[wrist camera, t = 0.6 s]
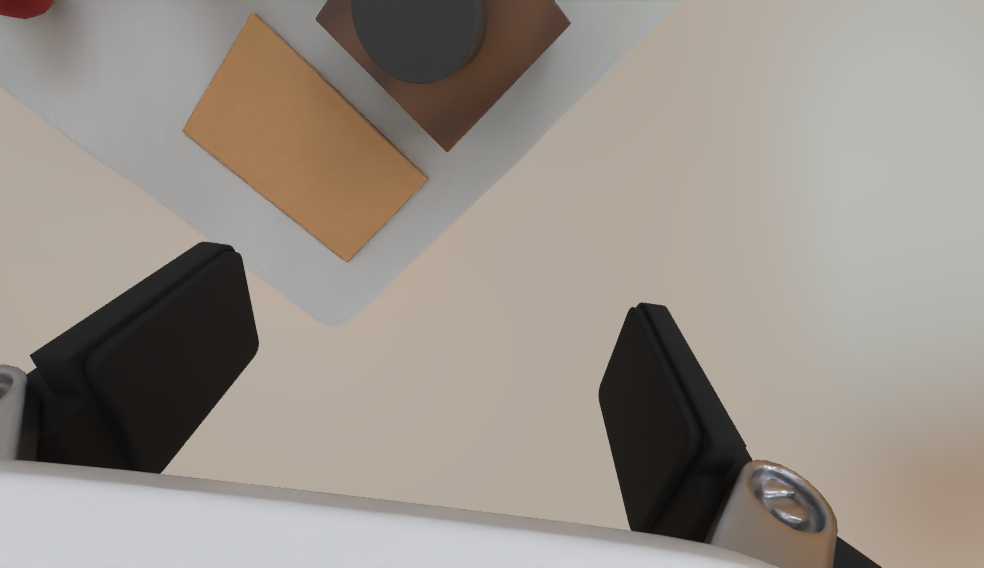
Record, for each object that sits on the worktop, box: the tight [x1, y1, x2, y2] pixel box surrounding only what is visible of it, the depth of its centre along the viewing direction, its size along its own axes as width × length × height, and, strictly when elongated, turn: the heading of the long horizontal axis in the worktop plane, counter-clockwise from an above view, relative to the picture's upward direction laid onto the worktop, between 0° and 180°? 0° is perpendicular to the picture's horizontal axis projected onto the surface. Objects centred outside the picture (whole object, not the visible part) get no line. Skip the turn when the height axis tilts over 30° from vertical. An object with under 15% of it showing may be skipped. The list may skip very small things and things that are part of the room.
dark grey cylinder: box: [351, 0, 487, 84], centre depth 23 cm, size 6×6×9 cm
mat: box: [182, 13, 428, 262], centre depth 42 cm, size 20×14×1 cm
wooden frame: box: [316, 0, 571, 152], centre depth 31 cm, size 12×12×10 cm
